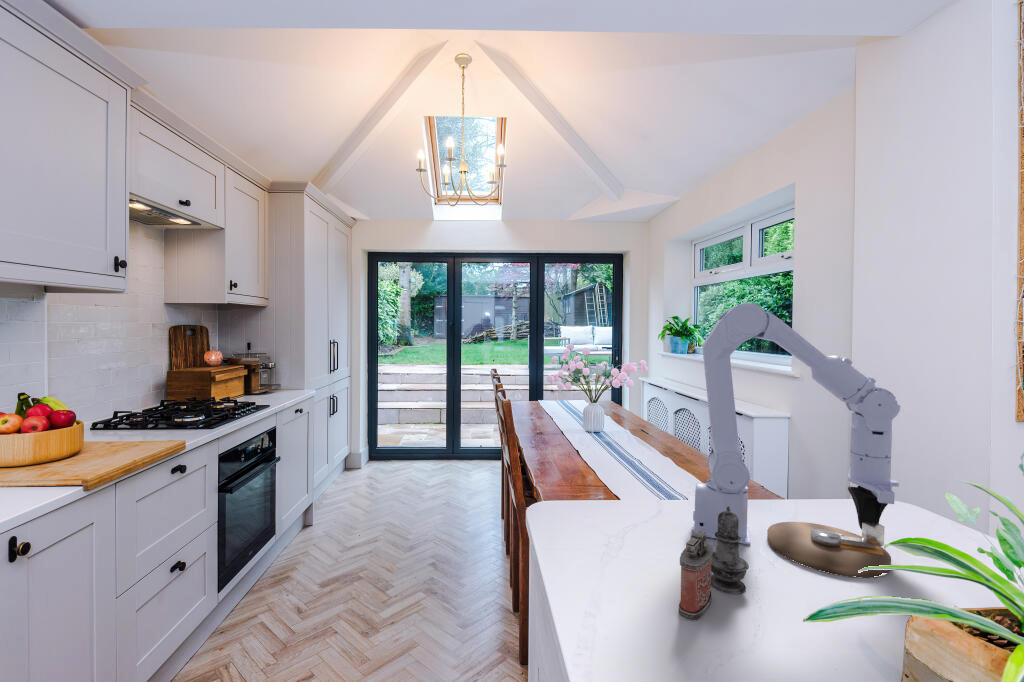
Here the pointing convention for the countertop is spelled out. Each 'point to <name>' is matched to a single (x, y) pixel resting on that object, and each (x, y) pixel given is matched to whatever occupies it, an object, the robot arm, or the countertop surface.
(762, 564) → the countertop surface
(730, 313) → the robot arm
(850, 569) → the dial plate
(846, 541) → the silver dumbbell
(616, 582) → the countertop surface
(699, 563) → the lighter
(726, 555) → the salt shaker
